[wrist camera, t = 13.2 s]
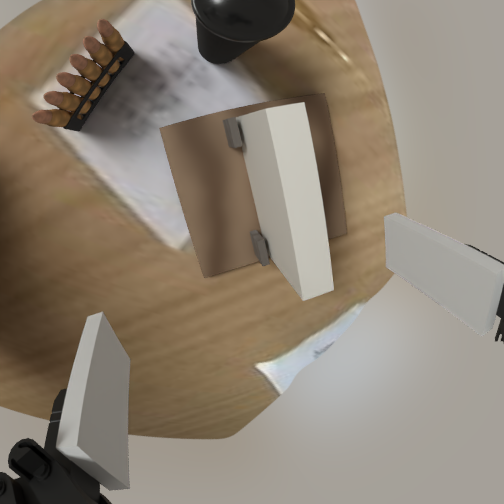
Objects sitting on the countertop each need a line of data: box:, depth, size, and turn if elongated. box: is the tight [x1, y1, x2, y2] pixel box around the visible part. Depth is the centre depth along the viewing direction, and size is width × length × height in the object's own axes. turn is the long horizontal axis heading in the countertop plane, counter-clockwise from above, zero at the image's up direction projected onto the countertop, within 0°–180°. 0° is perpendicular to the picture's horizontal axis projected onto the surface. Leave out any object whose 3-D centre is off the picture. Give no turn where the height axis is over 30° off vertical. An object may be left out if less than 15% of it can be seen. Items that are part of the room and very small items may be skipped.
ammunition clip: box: [32, 19, 134, 131], centre depth 22 cm, size 11×2×12 cm, turn 142°
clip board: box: [160, 93, 347, 278], centre depth 33 cm, size 19×18×5 cm
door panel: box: [236, 102, 334, 301], centre depth 29 cm, size 3×16×12 cm, turn 13°
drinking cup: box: [191, 0, 295, 64], centre depth 20 cm, size 8×8×20 cm
